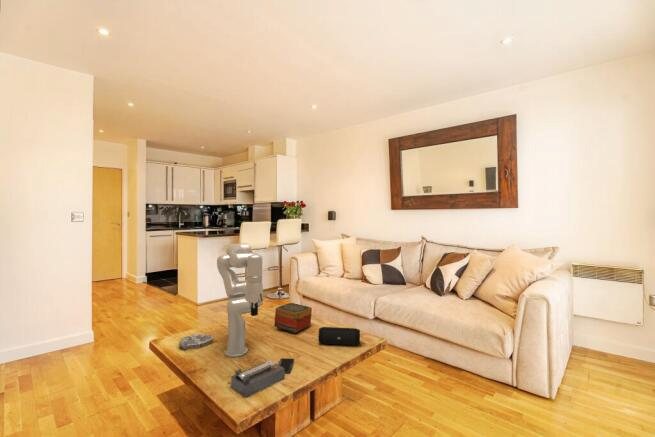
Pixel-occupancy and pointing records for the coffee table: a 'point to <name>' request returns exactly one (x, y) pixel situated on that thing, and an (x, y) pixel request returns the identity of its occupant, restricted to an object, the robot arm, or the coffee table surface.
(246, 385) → the base block
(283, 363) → the phone
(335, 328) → the portable speaker
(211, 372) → the coffee table surface
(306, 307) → the decorative box
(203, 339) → the brain slice
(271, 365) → the latch bar
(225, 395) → the coffee table surface
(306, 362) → the coffee table surface
